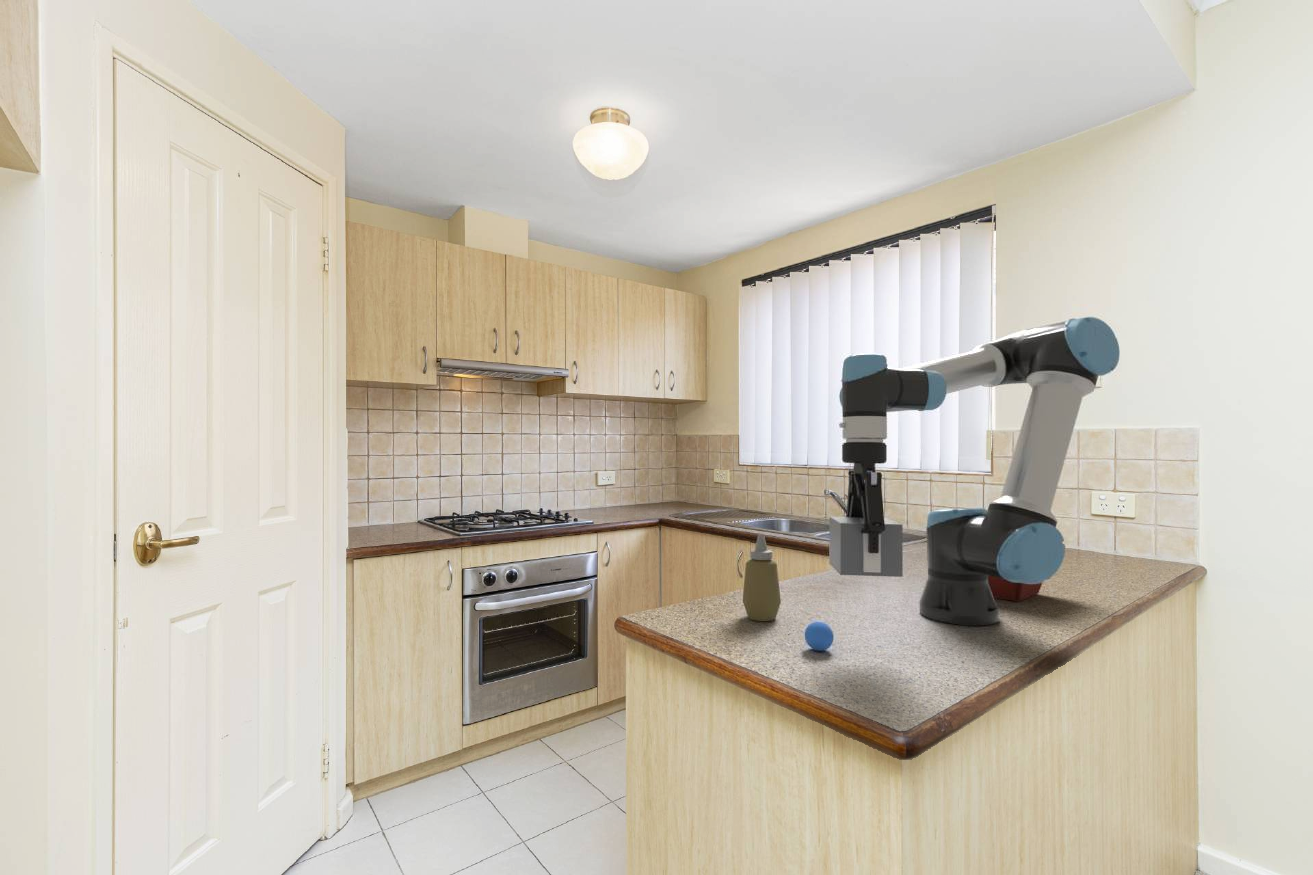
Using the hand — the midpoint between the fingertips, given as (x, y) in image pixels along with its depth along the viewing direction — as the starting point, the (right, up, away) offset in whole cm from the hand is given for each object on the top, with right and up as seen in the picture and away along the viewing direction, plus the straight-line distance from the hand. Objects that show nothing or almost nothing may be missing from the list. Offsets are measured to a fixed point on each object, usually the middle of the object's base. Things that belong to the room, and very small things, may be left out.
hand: (863, 565), depth 105 cm
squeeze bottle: (-15, -16, +21) cm, 30 cm away
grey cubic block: (0, -1, 0) cm, 1 cm away
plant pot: (+48, -16, +42) cm, 66 cm away
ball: (-8, -13, +1) cm, 15 cm away
